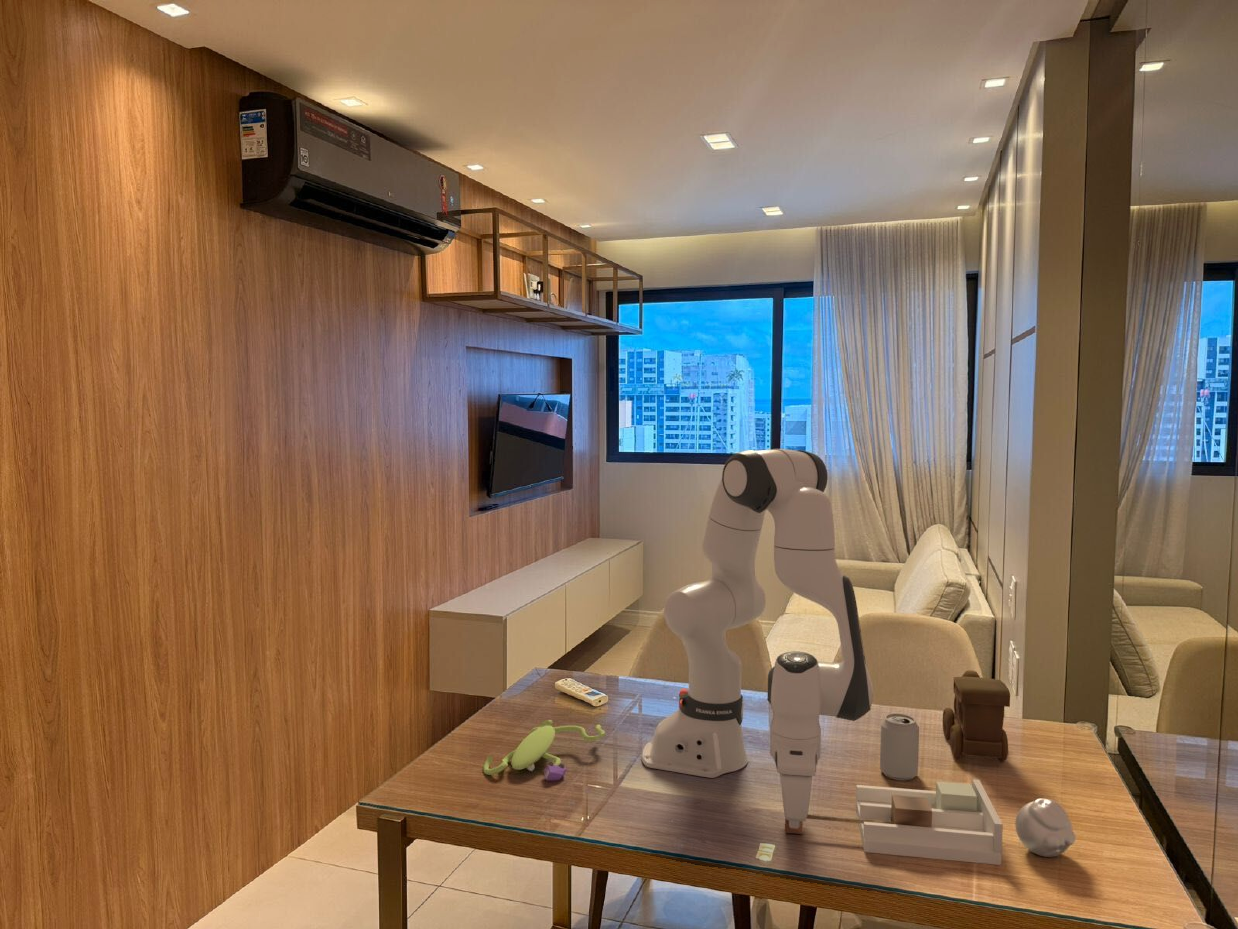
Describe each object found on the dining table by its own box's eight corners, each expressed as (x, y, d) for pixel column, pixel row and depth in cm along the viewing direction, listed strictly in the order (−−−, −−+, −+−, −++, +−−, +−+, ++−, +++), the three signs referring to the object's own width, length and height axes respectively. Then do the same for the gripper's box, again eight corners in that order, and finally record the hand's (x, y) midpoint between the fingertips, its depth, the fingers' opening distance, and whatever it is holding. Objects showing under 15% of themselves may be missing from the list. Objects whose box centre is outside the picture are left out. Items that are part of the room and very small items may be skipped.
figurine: (615, 747, 192) (615, 722, 192) (548, 794, 169) (547, 767, 169) (546, 731, 201) (546, 707, 201) (473, 774, 178) (473, 748, 178)
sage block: (940, 820, 154) (941, 793, 154) (935, 807, 159) (936, 781, 159) (975, 823, 153) (976, 796, 153) (969, 810, 158) (970, 784, 158)
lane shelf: (864, 852, 147) (865, 812, 147) (855, 805, 164) (856, 770, 163) (1001, 865, 143) (1002, 824, 143) (977, 816, 160) (979, 779, 160)
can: (920, 783, 174) (922, 725, 173) (881, 780, 175) (883, 723, 174) (915, 768, 181) (916, 712, 180) (878, 765, 182) (879, 709, 181)
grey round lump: (1014, 862, 144) (1017, 804, 144) (1014, 836, 153) (1016, 781, 152) (1075, 874, 141) (1078, 815, 140) (1071, 846, 149) (1073, 791, 149)
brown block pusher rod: (785, 836, 152) (785, 798, 152) (785, 822, 157) (785, 786, 156) (930, 849, 148) (932, 811, 147) (925, 835, 153) (927, 798, 152)
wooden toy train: (1012, 771, 179) (1015, 693, 178) (954, 766, 182) (956, 689, 180) (991, 735, 199) (994, 664, 198) (939, 731, 201) (941, 661, 200)
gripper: (776, 723, 164) (775, 793, 165) (777, 768, 144) (776, 848, 145) (810, 725, 163) (809, 796, 164) (816, 771, 143) (814, 851, 144)
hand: (793, 821), depth 154 cm, fingers closed on brown block pusher rod, 2 cm apart
